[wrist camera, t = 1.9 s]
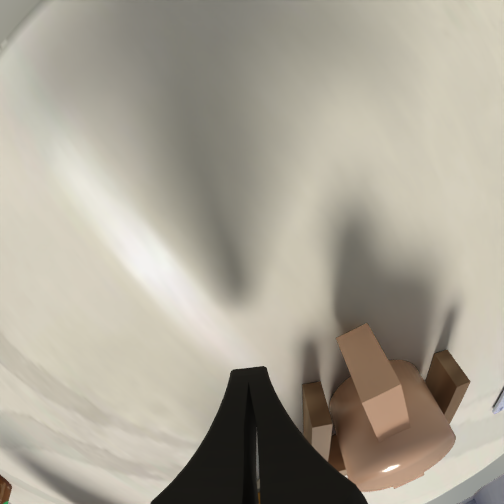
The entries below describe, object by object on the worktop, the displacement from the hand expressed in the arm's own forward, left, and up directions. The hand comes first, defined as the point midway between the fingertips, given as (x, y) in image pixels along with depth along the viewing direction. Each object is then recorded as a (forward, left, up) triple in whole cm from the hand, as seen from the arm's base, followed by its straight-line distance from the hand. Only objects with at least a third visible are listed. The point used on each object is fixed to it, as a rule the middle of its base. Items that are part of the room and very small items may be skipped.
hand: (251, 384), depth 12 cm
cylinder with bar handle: (-6, +5, -3) cm, 9 cm away
